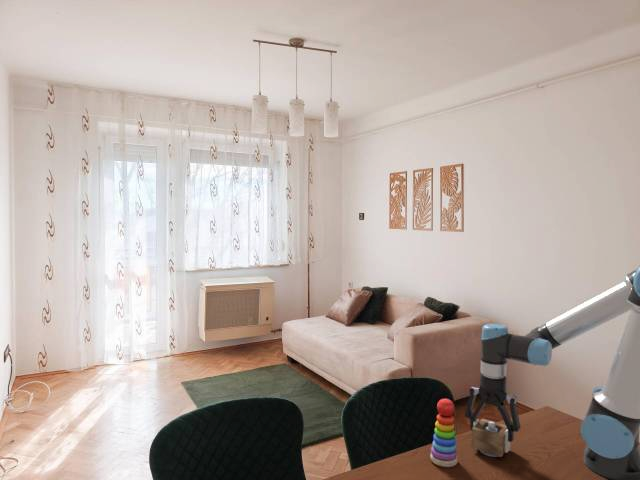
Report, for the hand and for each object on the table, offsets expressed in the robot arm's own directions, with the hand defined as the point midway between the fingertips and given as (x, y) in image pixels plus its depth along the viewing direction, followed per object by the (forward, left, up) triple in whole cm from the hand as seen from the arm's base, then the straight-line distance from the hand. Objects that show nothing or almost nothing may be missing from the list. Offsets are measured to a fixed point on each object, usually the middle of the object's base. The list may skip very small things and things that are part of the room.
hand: (491, 445), depth 144 cm
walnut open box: (0, 0, 0) cm, 0 cm away
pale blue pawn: (0, 0, -2) cm, 2 cm away
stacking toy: (+9, +15, -2) cm, 18 cm away
